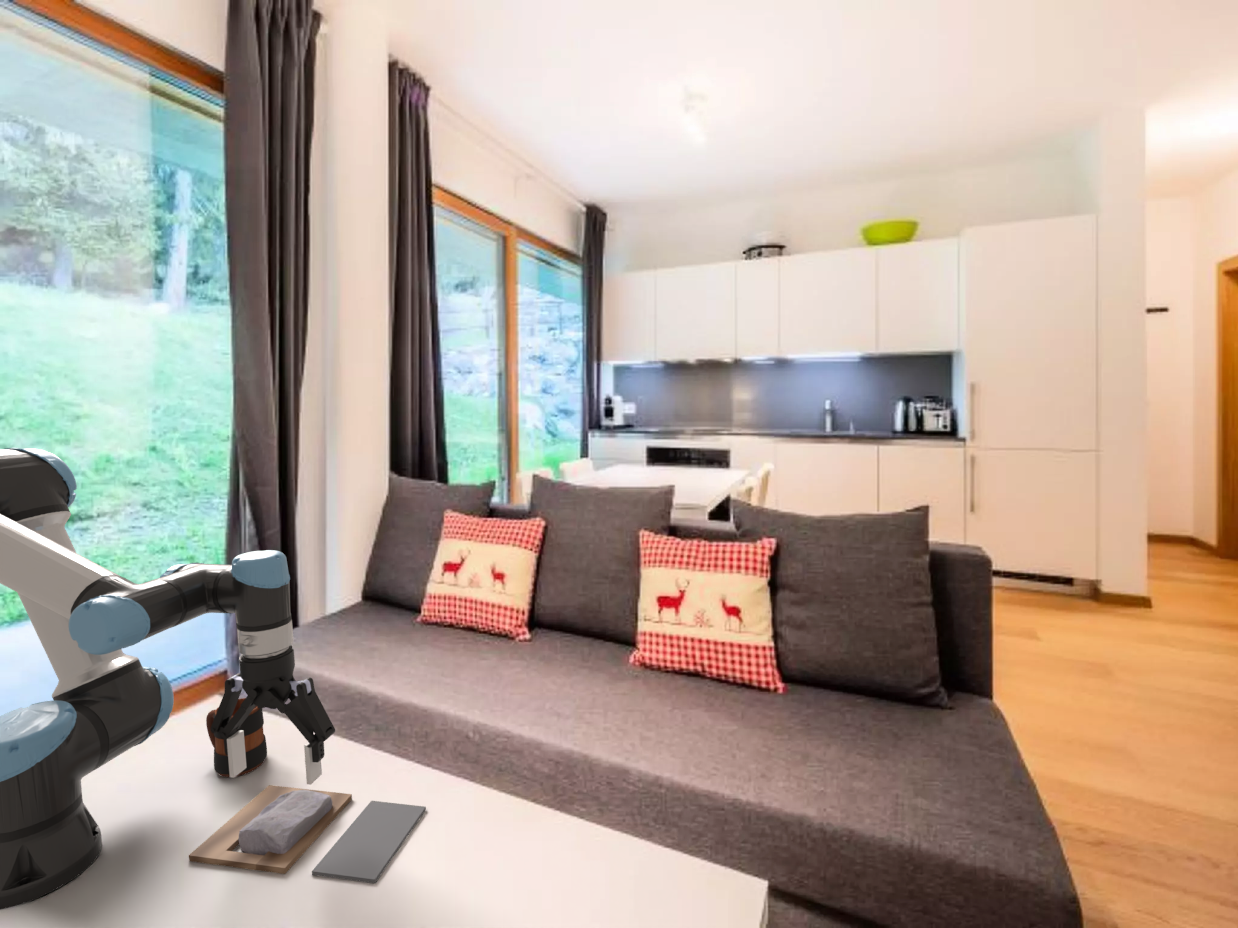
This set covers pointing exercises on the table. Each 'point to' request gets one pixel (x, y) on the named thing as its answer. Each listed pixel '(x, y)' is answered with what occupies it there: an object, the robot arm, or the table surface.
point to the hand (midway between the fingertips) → (276, 775)
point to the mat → (370, 842)
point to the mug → (252, 738)
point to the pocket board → (226, 841)
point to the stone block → (284, 822)
